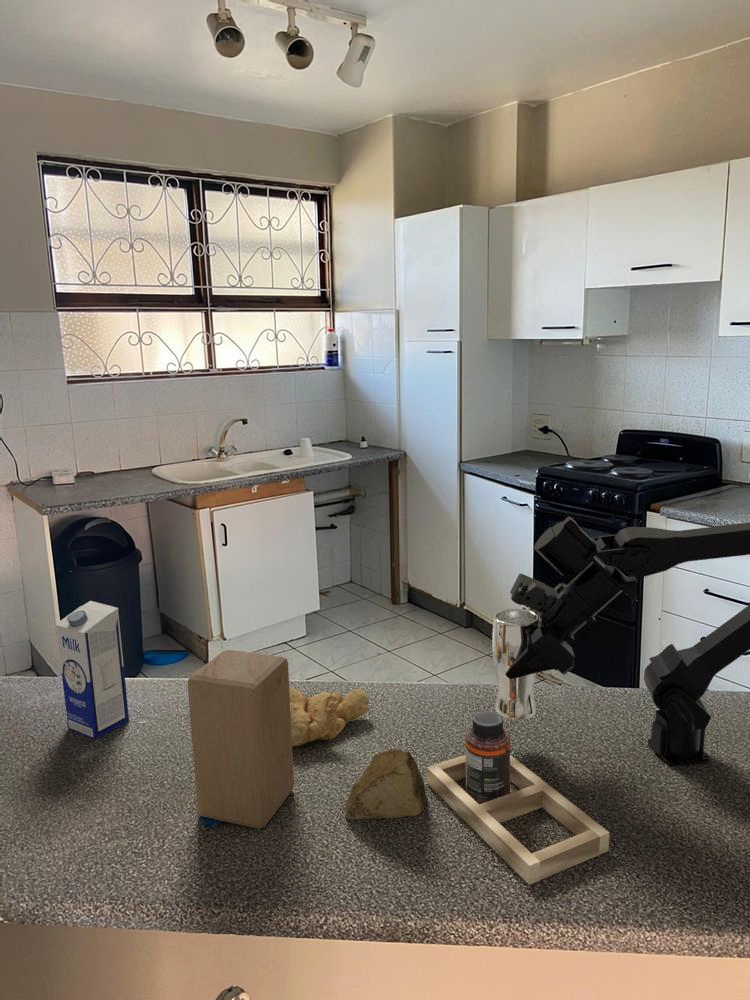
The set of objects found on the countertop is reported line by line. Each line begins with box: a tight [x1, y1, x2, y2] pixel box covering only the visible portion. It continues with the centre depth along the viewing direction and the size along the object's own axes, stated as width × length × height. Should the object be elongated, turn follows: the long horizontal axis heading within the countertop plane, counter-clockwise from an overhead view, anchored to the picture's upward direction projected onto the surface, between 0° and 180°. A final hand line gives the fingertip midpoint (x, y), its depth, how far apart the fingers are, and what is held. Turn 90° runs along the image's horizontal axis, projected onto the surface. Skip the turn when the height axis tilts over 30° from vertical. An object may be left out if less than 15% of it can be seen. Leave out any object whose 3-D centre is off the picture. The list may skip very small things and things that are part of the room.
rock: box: [344, 748, 428, 820], centre depth 98 cm, size 11×9×10 cm
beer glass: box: [491, 608, 539, 721], centre depth 111 cm, size 7×7×15 cm
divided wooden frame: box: [426, 754, 610, 886], centre depth 97 cm, size 22×12×2 cm, turn 27°
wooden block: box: [187, 649, 295, 829], centre depth 98 cm, size 10×10×20 cm
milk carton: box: [55, 600, 130, 741], centre depth 120 cm, size 7×7×20 cm
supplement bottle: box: [465, 710, 511, 804], centre depth 100 cm, size 6×6×11 cm
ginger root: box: [289, 686, 371, 748], centre depth 118 cm, size 16×16×8 cm
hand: (506, 666), depth 111 cm, fingers closed on beer glass, 6 cm apart
